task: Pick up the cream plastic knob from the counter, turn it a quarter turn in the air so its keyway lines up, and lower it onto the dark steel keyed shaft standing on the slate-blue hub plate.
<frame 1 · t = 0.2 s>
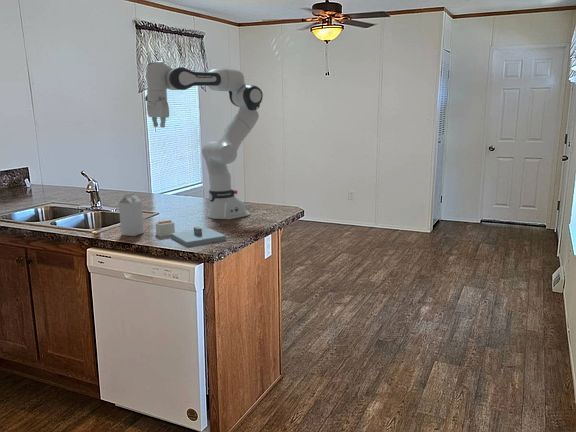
hand: (159, 127, 241), 47 cm above the counter, fingers open, 8 cm apart
hub: (198, 239, 223), on the counter
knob: (165, 234, 231), on the counter
milk carton: (132, 234, 233), on the counter
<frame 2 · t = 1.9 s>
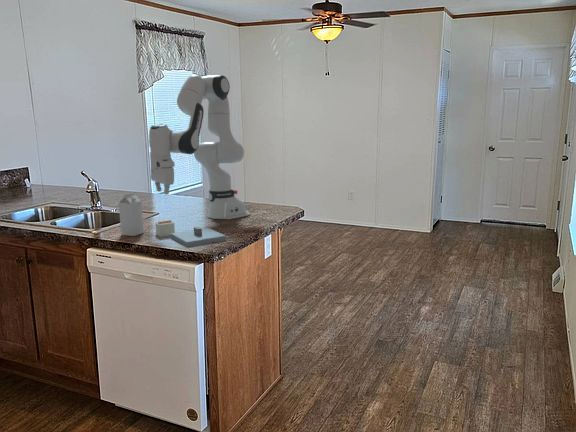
hand: (162, 192, 227), 19 cm above the counter, fingers open, 8 cm apart
nothing on the counter moved.
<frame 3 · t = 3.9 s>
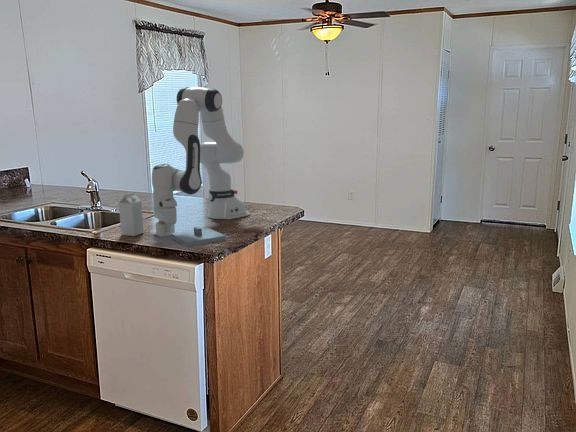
hand: (165, 230, 231), 2 cm above the counter, fingers closed on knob, 5 cm apart
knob: (165, 234, 231), on the counter, touching gripper
everything else where it was.
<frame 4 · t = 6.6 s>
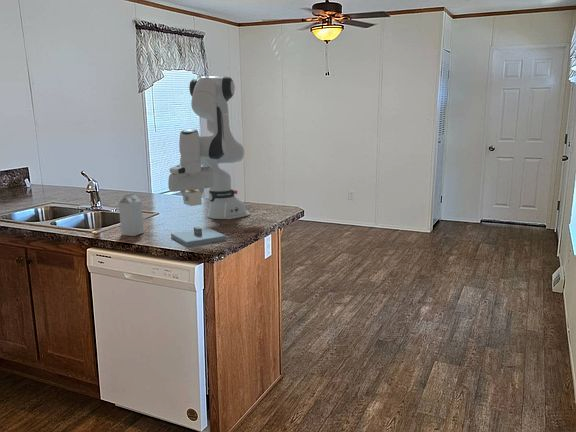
hand: (192, 199, 220), 17 cm above the counter, fingers closed on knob, 5 cm apart
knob: (192, 204, 220), point 15 cm above the counter, touching gripper
everything else where it was.
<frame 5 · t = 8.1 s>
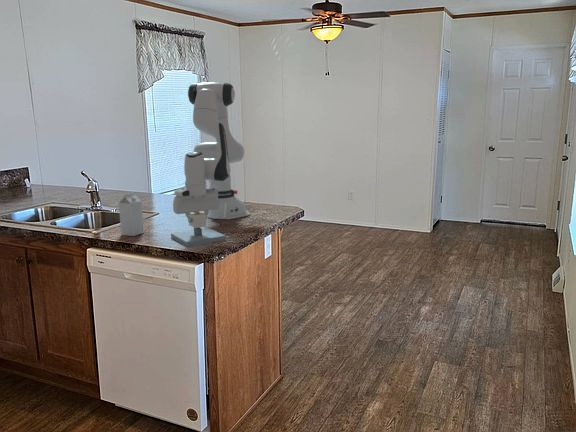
hand: (197, 221, 221), 8 cm above the counter, fingers closed on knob, 5 cm apart
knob: (197, 225, 222), point 6 cm above the counter, touching gripper
everything else where it was.
when the fingers open (5 cm above the counter, at t = 9.1 s): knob stays where it is, resting on hub.
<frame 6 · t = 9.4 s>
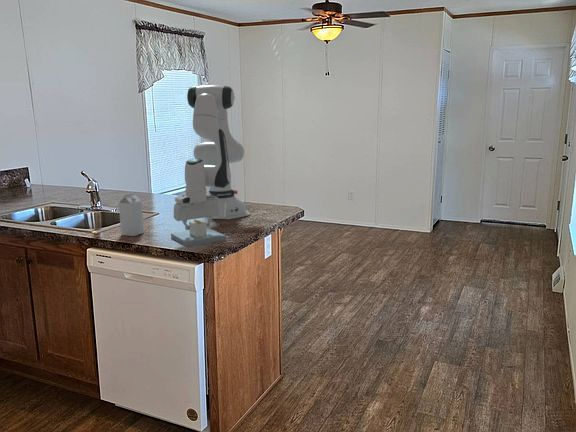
hand: (197, 228, 222), 5 cm above the counter, fingers open, 8 cm apart
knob: (198, 234, 223), point 2 cm above the counter, touching hub
everything else where it was.
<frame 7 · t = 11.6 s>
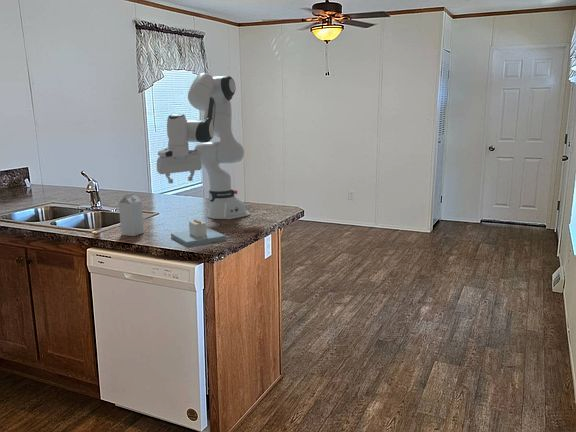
hand: (180, 181, 228), 24 cm above the counter, fingers open, 8 cm apart
nothing on the counter moved.
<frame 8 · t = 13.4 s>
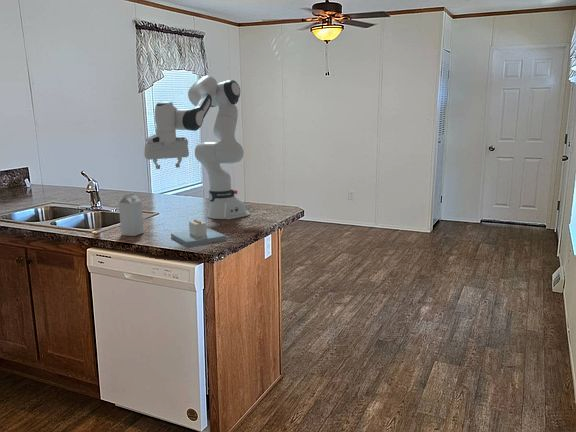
hand: (168, 168, 235), 29 cm above the counter, fingers open, 8 cm apart
nothing on the counter moved.
at the end: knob 0.1 cm from the hub (horizontally); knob point 2.0 cm above the counter; the gripper is holding nothing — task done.
